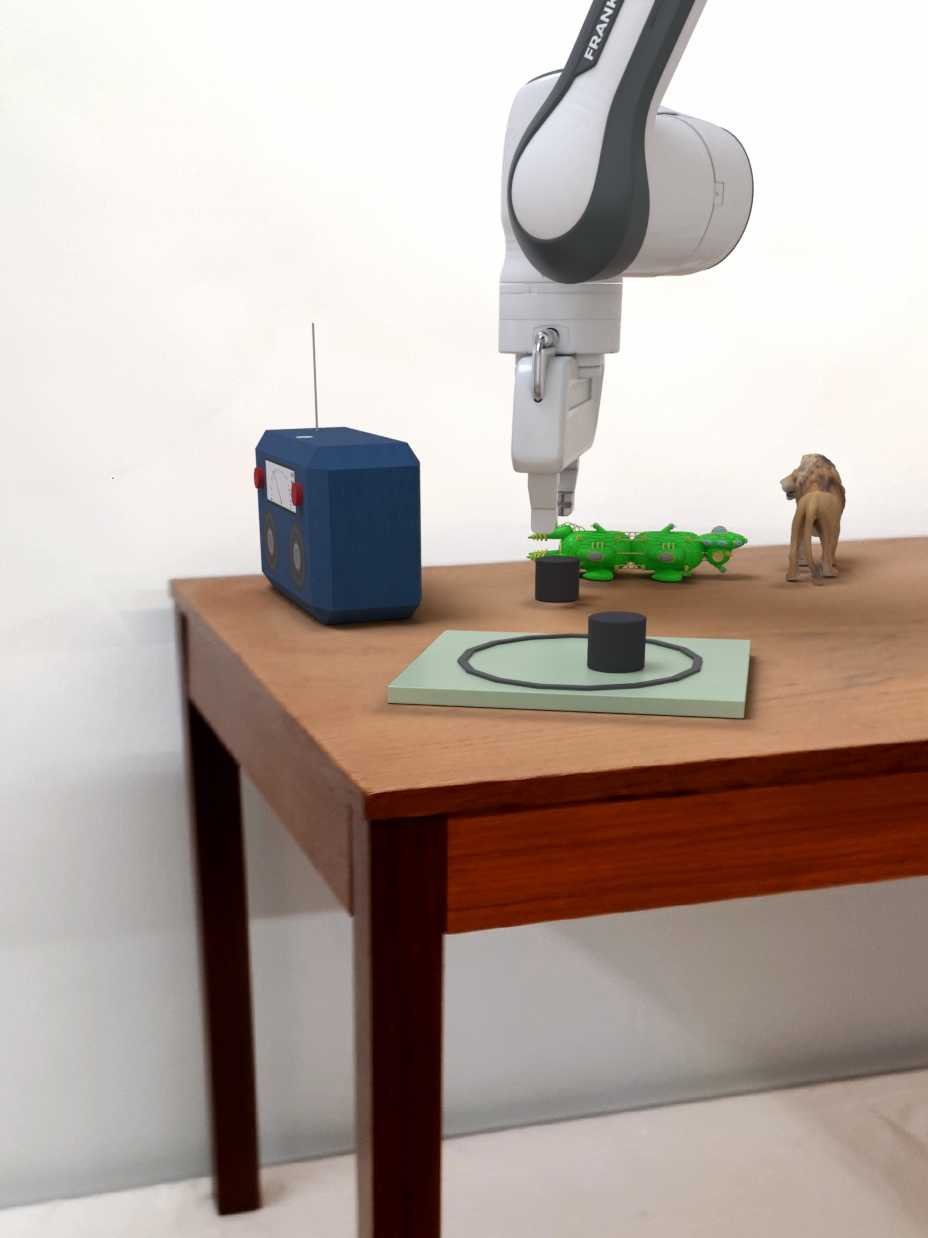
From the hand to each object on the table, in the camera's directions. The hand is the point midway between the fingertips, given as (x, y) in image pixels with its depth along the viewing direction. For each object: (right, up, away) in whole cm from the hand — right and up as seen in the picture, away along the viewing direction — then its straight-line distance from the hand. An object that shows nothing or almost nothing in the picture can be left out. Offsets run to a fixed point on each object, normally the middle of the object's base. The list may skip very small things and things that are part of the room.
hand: (553, 523), depth 112 cm
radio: (-17, -6, +2) cm, 18 cm away
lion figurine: (+23, -1, +13) cm, 26 cm away
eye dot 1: (0, -5, +2) cm, 6 cm away
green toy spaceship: (+8, -2, +11) cm, 14 cm away
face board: (-1, -15, -22) cm, 27 cm away
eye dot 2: (+1, -15, -24) cm, 28 cm away
